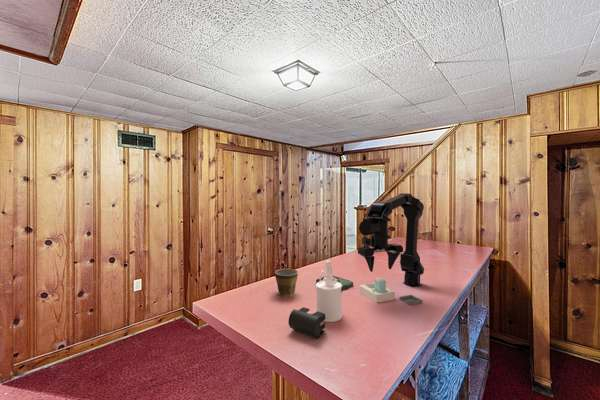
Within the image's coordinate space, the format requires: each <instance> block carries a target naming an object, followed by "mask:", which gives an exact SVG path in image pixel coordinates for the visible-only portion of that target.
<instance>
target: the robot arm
mask: <svg viewBox="0 0 600 400" xmlns="http://www.w3.org/2000/svg"><path fill="white" fill-rule="evenodd" d="M424 206H425V205H424V203H423V202H422V201H421V200H420V199H418V198H417V197H415V196H413V195H412V194H411V193H407V192H406V193H399V194H398V195H394V196H393V197H391V198H388V199H387V200H382V201H381V200H379V201H374V202H372V203H371V206H370V207H369V209H368V212H367V215H366V216H365V217H363V218H362V221H361V222H360V223H359V226H358V231H359V232H360V234H361V235H363V236H365V237H361V244H362V246H359V247H358V248H357V255H360V256H361V257H363V258H364V260H365V261H366V264H367V266H368V269H369V272H371V273H372V272H373V271H374V264H375V256H374V255H375V254H376V253H382V252H384V253H386V254H387V263H388V264H387V265H388V269H389V270H392V268H393V266H394V264H395V262H396V261H397V260H398V258H399V256H400V260H399V265H400V269H401V271H402V272H404V277H403V278H404V279H403V280H404V281H403V282H402V284H404V285H405V286H408V287H410V288H417V287H423V284H422V283H421V276H422V275H424V273H425V268H424V266H423V265H422V263H421V257H420V255H419V253H418V236H419V235H418V232H419V220H420V219H421V217H422V216H423V212H424V208H425V207H424ZM398 207H401V208H402V209H403V215H404V217H405V218H406V231H405V248H404V247H403V245H402V244H398V243H395V242H394V243H389V239H391V235H389V222H391V220H392V219H391V218H390V217H389V216H391V214H392V213H393V210H395V209H397V208H398ZM370 235H371V236H370ZM368 236H370V238H368ZM404 249H405V250H404Z"/></svg>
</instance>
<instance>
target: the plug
mask: <svg viewBox="0 0 600 400" xmlns="http://www.w3.org/2000/svg"><path fill="white" fill-rule="evenodd" d="M374 283H375V291H376V292H378V293H383V292H386V288H387V281H386V279H385V278H383V277H380V276H379V277H375V279H374Z"/></svg>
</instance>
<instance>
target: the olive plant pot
mask: <svg viewBox="0 0 600 400" xmlns="http://www.w3.org/2000/svg"><path fill="white" fill-rule="evenodd" d="M273 275H274V278H275V281H276V284H277V290H278V295H279V297H282V298H292V297H294V296H295V293H296V287H297V286H296V285H297V281H298V277H299V276H298V275H299V272H298V270H297V269H294V268H281V269H277V270H274V271H273Z"/></svg>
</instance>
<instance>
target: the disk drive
mask: <svg viewBox="0 0 600 400" xmlns="http://www.w3.org/2000/svg"><path fill="white" fill-rule="evenodd" d="M324 277H326V276H325V275H324V276H321V281H322V280H323V279H324ZM332 277H334V278H337V282H339V283H341V284H342V288H341V292H343V291H346V290H348V289H350V288H352V287H354V282H353V281H352V280H349V279H346V278H342V277H338V276H335V275H332ZM323 281H325V279H324V280H323ZM333 281H334V279H333ZM318 282H320V279H319V278H317V279H316V280H315V284H316V283H318Z"/></svg>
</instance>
